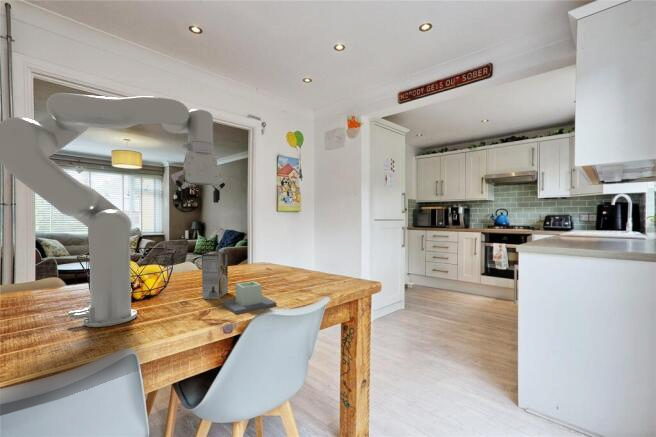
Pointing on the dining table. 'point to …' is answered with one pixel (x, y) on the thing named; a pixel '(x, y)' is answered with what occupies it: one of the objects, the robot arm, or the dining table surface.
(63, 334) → the dining table surface
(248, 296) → the square sleeve
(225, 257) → the coffee box
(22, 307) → the dining table surface
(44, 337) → the dining table surface
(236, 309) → the base
